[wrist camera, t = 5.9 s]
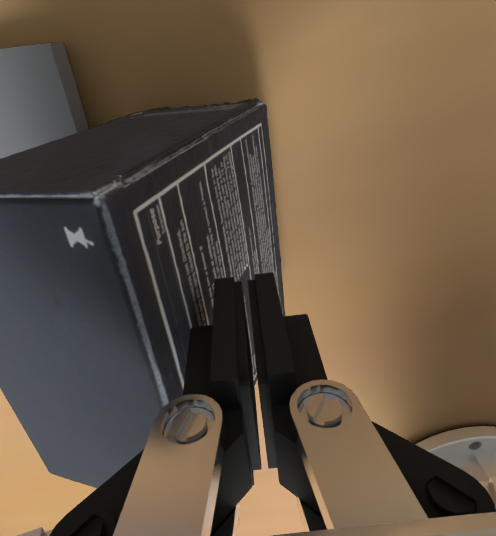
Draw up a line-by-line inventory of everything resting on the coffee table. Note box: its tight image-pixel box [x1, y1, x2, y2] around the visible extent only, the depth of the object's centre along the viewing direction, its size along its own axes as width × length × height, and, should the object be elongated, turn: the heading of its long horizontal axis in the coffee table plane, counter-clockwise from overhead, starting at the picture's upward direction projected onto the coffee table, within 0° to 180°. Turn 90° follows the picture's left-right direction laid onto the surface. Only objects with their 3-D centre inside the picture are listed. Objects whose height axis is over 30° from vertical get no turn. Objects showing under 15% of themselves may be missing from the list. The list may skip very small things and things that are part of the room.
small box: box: [0, 98, 285, 488], centre depth 15 cm, size 11×6×10 cm, turn 7°
